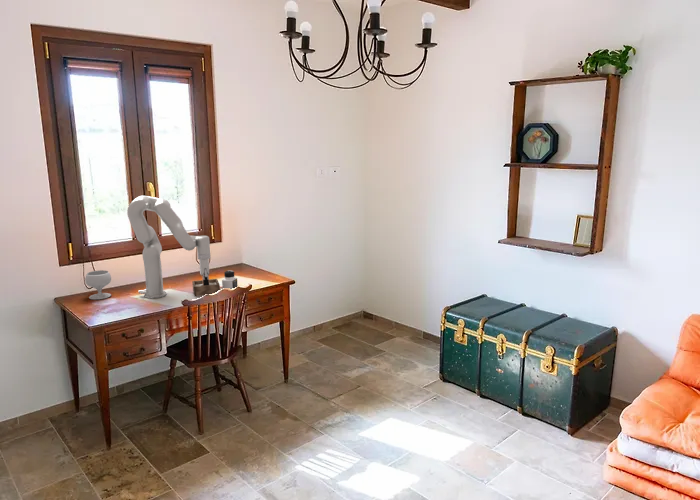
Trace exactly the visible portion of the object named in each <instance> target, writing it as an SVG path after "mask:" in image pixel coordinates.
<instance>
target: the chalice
mask: <svg viewBox="0 0 700 500" xmlns="http://www.w3.org/2000/svg"><path fill="white" fill-rule="evenodd" d="M84 278H85V279H84V282H85V285H87V286H88V287H91V288H94V289H95V290H96V291H97V293H95V294H92V295H90V296H89V297H88V298H89V299H90V300H103V299H107V298H110V297H112V294H111V293H109V292H102V290H103V289H104V288H105V287H106V286H108V285H110V284H111V282H112V276H111V273H110V272H109V271H108V270H93V271H90V272H87V273H86V275H85V277H84Z"/></svg>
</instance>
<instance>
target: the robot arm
mask: <svg viewBox="0 0 700 500" xmlns="http://www.w3.org/2000/svg"><path fill="white" fill-rule="evenodd" d="M126 211H127V213H126V214H127V218H128V220H129V223H130V225H131V228H132V230H133V232H134V234H135V237H136V240H137V241H138V242H139V243H141V244H142V245H143V250H142V261H143V267H144V277H145V286H146V287H145V289H139V290H138V294H141V295H143V294H144V296H143V297H144V298H146V299H158V298H162V297H165V296H166V295H167V291H165V290H164V284H163V283H164V282H163V281H164V280H163V279H164V278H163V270H162V260H161V253H162V251H163V247H162V244H161V242H160V240H159V238H158V235H157V232H156V231H155V229H154V227H152V226H151V225H149V224H148V221H147V219H146V217H145V215H144V212H145V211H150V212H155V214H156V215H157V216H158V217H159V219H161V221H162V222H163V223H164V224H165V225H166V227H167V228H168V229H169V231H170V233H171V234H172V235H173V237H174V238H175V240H176V241H177V242H178V244H180V246H181V247H182V248H183V249H184V250H185V251H193V250H194V249H195V248H196V251H197V252H196V254H197V260H199V273H200V276H202V275H203V279H204V280H203V285H204V286H205V285H209V279H210V278H209V279H208V275H209V276H210V260H209V259H211V258H212V257H211V243H210V237H209V236H208V235H190V234H189V233H188V231H187V230H186V229H185V227H184V224H183V222H182V220H181V218H180V217H179V216H178V215H177V213H176V212H175V211H174V210H173V208H172V206H171V203H170V201H169V200H166V199H164V198H160V197H159V198H158V197H155V196H154V197H153V196H149V195H139V196H137V197H136V198H134V199H133V200H132V201H131V202H130V204H129V205H128V207H127V210H126ZM204 274H205V275H204ZM204 276H205V277H204Z"/></svg>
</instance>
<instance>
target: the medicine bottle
mask: <svg viewBox="0 0 700 500" xmlns="http://www.w3.org/2000/svg"><path fill="white" fill-rule="evenodd" d="M223 274H224V278H223V279H221V284H222V287H221V289H223V288H230V289H232V288H235V287H237V286H239V284H238V278H237V277H235V271H234V270H226V271H224V273H223Z"/></svg>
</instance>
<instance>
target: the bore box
mask: <svg viewBox="0 0 700 500" xmlns="http://www.w3.org/2000/svg"><path fill="white" fill-rule="evenodd" d="M220 285H221V284H220V282H219V281H218V278H211V279H210V278H209V285H205V286H203V283H202V279H200V280H192V292H193V295H194V297H195V296H196V297H202V295H205V294H212V293H215V292H217V291H218V290H220V291H221V286H220Z"/></svg>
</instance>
